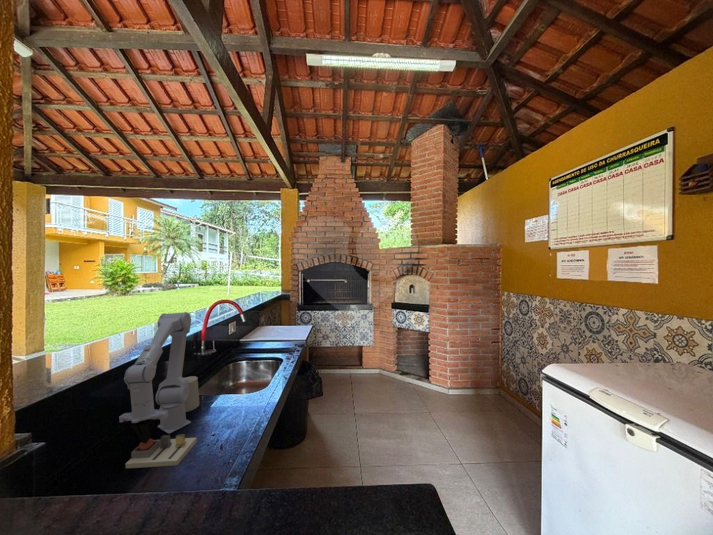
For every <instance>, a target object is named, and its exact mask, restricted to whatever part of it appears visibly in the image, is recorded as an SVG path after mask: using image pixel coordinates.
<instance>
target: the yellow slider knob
mask: <svg viewBox="0 0 713 535" xmlns="http://www.w3.org/2000/svg"><path fill="white" fill-rule="evenodd" d="M185 438H186V434H185V433H184V434H183V433H181V434H177V435H176V436H175V439H176V445H175V447H184V445H185V444H186V443H187V442H185Z"/></svg>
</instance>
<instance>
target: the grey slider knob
mask: <svg viewBox="0 0 713 535" xmlns="http://www.w3.org/2000/svg"><path fill="white" fill-rule="evenodd" d="M170 439H171V434H166V435H165V434H164V435H162V436H161V437H160V440H161V446H160V448H169V446H170V445H171V444H172V442H171V440H170Z"/></svg>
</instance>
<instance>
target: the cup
mask: <svg viewBox="0 0 713 535" xmlns="http://www.w3.org/2000/svg"><path fill="white" fill-rule="evenodd" d="M183 378H184V379H186V380H187V381H188V382H189V396H188V398H187V400H186V401H185V413H187V412H191V411H193V410H195V409H197V408H198V407H199V406H200V393H199V381H198V376H195V375H194V376H193V375H191V376H187V377H186V376H185V377H183ZM175 386H179V385H175Z"/></svg>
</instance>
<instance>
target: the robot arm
mask: <svg viewBox="0 0 713 535" xmlns="http://www.w3.org/2000/svg"><path fill="white" fill-rule="evenodd" d="M191 324H192V317H191V315H190V313H188V312H187V311H184V312H172V313H161V314H160V316H158V320H157V327H158V328H157V330H156V333H155V334H154V336H153V338H152V340H151V343H150V344H148V345H146V346H145V347H143V349H142V352H141V353H140V354H139V356H138V358H137V360H136V361H135V362H134V364H132V365H131V366H129V367H128V368H127V369H126V370H125V373H124V377H123V381H124V383H125V384H126V385H127V389H128V390H129V393H130V404H131V412H125V413H123V414H121V415H120V416H118V418H119V420H118V421H119V423H124V422H128V421H131V425H130V428H131V429H132V430H133V431H134V432H135V433H136V435H137V436H138V438H139V440H140V443H141V442H142V443H146V442H147V441H148V440H149V439H151V436H152V430H153V427H154V424H155V423H156V421H157V420H159V422H160V423H159V424H158V425H157V428H159V430H162V431H164V432H165V433H167V435H171V434H172V433H174V432H176V431H178V430H180V429H182V428H184V427H185V426H188V425H189V424H191V423H192V421H191V420H189V419H187V417H186V416H187V415H186V414H187V413H186V412H185V401H186V400H187V398H188V396H189V382H188V381H187V380H186V379H184V378H185V377H183V368H184V360H185V353H186V352H185V351H186V344H187V343H186V341H187V335H188V334H189V333H190V331H191ZM169 337H171V341H170V342H171V344H170V350H169V356H168V357H169V358H168V366H167V372H166V378H165V379H164V380H163V381H162V382H160V383H159V384H158V389H157V391H156V393H155V402H156V404H157V405H158V406H159V409H155V402H154V393H153V391H154V390H153V380H154V378H155V376H156V370H157V368H158V367H157V366H158V365H157V364H158V361H159V360H160V358H161V356H162V354H163V353H164V352H163V351H164V350H163V348H162V347H163V346H164V344H165V343H166V342H167V340H168V338H169ZM176 385H179V386H176Z"/></svg>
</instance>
